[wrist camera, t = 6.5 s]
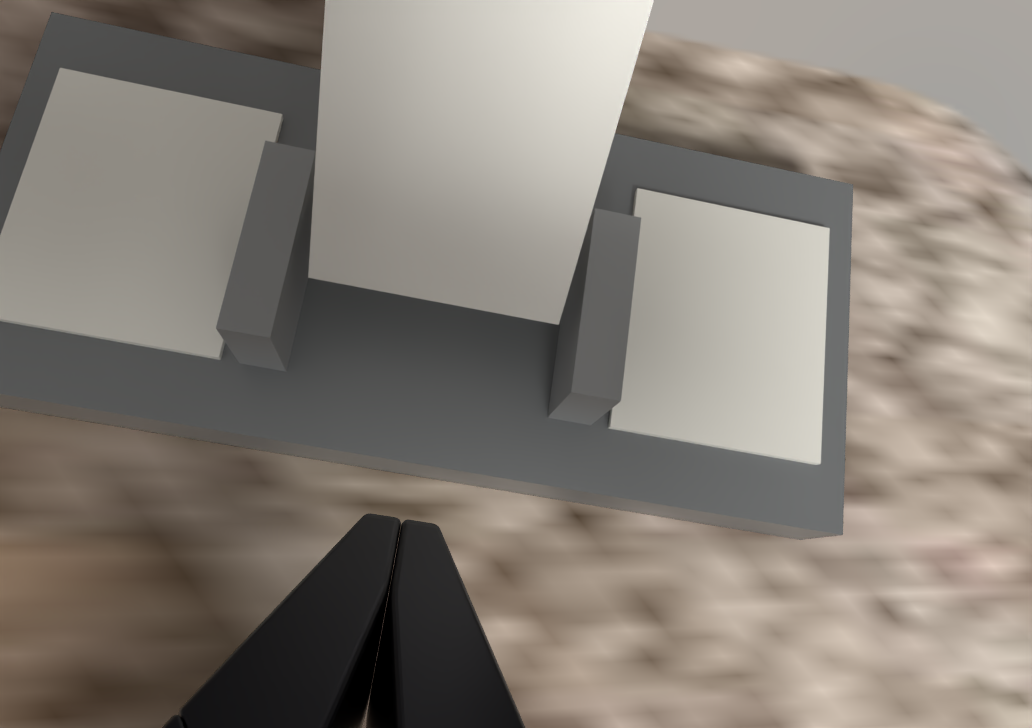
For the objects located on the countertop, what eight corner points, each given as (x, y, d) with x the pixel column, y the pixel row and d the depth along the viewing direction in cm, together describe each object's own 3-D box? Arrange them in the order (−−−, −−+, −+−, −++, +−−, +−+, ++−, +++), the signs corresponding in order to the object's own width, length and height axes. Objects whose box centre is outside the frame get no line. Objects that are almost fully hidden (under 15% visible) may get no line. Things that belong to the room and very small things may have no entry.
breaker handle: (563, 331, 16) (713, -168, 11) (300, 281, 16) (330, -267, 11) (561, 269, 18) (688, -181, 13) (326, 223, 18) (363, -265, 12)
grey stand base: (800, 539, 20) (909, 527, 16) (-35, 401, 18) (-165, 344, 14) (814, 217, 23) (912, 133, 19) (82, 64, 21) (3, -71, 17)
